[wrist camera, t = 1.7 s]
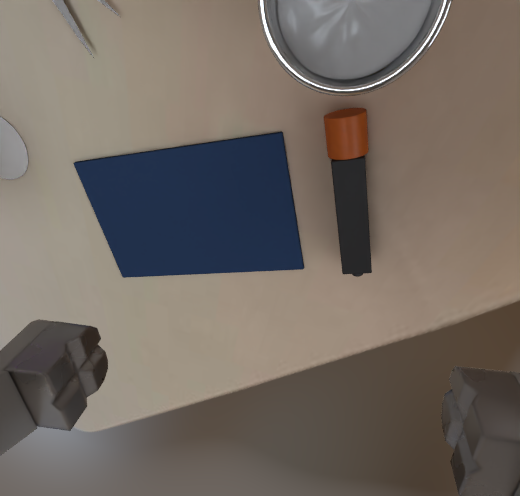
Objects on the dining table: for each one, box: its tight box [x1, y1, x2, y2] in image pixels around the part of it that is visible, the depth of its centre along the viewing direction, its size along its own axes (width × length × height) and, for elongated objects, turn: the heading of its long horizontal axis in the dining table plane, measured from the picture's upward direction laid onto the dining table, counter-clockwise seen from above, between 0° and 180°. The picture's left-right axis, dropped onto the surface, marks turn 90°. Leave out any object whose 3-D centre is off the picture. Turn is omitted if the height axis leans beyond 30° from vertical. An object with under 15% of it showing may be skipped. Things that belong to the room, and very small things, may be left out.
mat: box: [74, 132, 304, 277], centre depth 36 cm, size 20×13×1 cm, turn 101°
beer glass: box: [258, 0, 452, 96], centre depth 19 cm, size 7×7×15 cm
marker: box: [324, 108, 372, 276], centre depth 31 cm, size 14×3×3 cm, turn 11°
